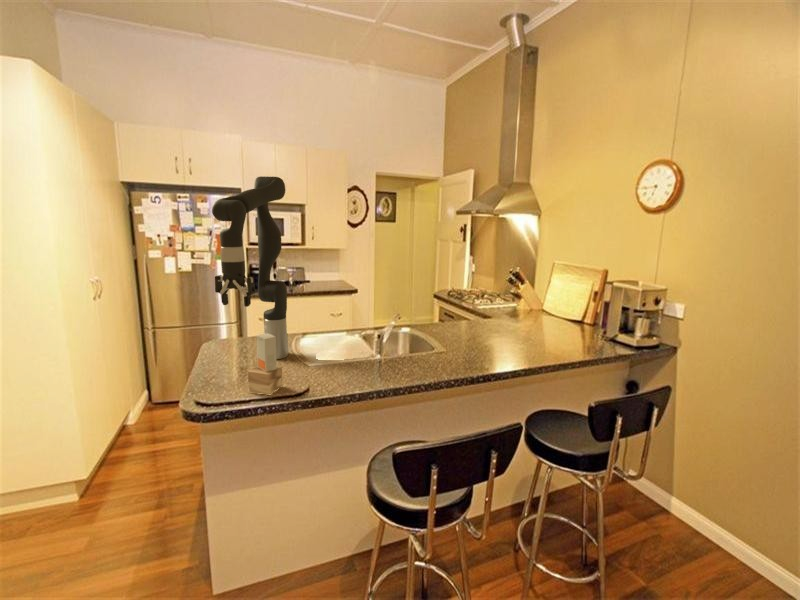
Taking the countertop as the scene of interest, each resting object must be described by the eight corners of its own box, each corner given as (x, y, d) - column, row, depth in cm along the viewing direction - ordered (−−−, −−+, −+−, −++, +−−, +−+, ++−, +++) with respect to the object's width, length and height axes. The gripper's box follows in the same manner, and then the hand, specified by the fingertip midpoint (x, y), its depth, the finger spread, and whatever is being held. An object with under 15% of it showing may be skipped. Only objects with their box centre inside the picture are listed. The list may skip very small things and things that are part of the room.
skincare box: (257, 367, 139) (256, 334, 137) (268, 365, 142) (267, 332, 140) (265, 372, 135) (264, 338, 133) (277, 369, 138) (276, 336, 136)
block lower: (262, 384, 145) (262, 374, 144) (282, 387, 143) (282, 376, 142) (249, 393, 137) (248, 382, 136) (270, 396, 136) (269, 385, 135)
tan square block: (262, 374, 144) (262, 363, 144) (282, 377, 142) (281, 366, 141) (248, 382, 137) (247, 371, 136) (268, 385, 135) (267, 374, 134)
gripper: (257, 259, 139) (260, 304, 142) (221, 257, 142) (225, 301, 145) (244, 262, 132) (248, 309, 135) (207, 260, 135) (211, 306, 138)
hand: (236, 305), depth 140 cm, fingers open, 8 cm apart
